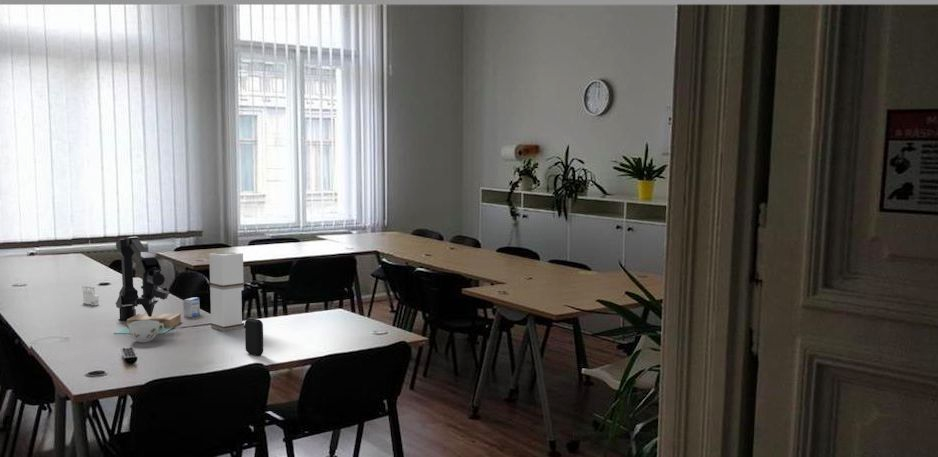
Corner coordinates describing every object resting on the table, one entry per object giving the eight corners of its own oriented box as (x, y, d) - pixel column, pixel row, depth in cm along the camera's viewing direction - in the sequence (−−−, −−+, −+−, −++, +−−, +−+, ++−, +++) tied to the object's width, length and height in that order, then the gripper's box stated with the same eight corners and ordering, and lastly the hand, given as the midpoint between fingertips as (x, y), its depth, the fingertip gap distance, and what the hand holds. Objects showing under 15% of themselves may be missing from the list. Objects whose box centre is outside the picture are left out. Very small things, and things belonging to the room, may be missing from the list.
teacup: (135, 345, 333) (134, 327, 332) (124, 340, 342) (123, 322, 341) (170, 340, 343) (169, 322, 343) (158, 335, 352) (158, 317, 352)
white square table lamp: (244, 327, 370) (242, 253, 367) (223, 331, 362) (222, 255, 359) (231, 324, 378) (230, 251, 375) (211, 327, 370) (209, 253, 367)
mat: (113, 333, 355) (113, 333, 355) (124, 328, 367) (124, 327, 367) (162, 333, 356) (162, 333, 356) (172, 328, 368) (172, 327, 368)
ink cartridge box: (87, 303, 430) (86, 285, 429) (99, 305, 424) (98, 287, 424) (82, 303, 428) (82, 285, 427) (94, 305, 422) (94, 287, 421)
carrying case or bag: (242, 353, 322) (241, 317, 320) (248, 351, 324) (247, 316, 323) (259, 357, 315) (258, 320, 314) (265, 355, 318) (264, 319, 317)
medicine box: (191, 317, 393) (191, 300, 393) (183, 316, 394) (182, 299, 393) (199, 314, 401) (199, 297, 400) (191, 313, 402) (191, 297, 401)
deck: (127, 328, 367) (126, 319, 367) (139, 321, 381) (138, 313, 381) (170, 328, 368) (170, 319, 367) (180, 322, 382) (180, 313, 381)
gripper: (159, 286, 358) (160, 320, 360) (173, 280, 377) (174, 312, 378) (134, 286, 358) (135, 320, 360) (150, 280, 377) (151, 312, 378)
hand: (150, 316), depth 369 cm, fingers closed
